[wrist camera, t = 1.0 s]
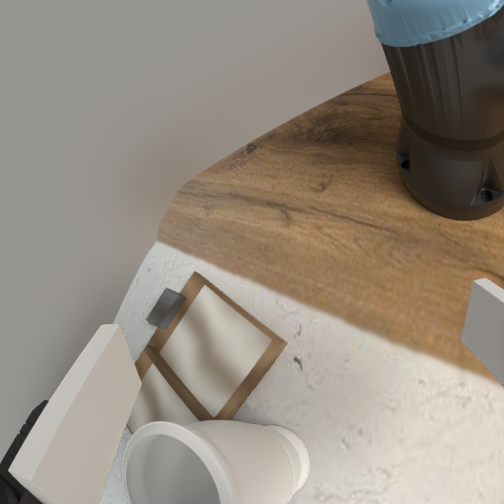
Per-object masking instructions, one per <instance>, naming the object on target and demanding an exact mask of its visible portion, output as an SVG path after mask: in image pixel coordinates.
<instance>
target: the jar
mask: <svg viewBox="0 0 504 504" xmlns="http://www.w3.org/2000/svg"><path fill="white" fill-rule="evenodd" d="M309 471H310V458H309V454H308V451H307V449H306V447H305V445H304V443H303V442H302V441H301V439H300V438H299V437H298V436H297V435H296V434H294V433H293V432H292V431H290V430H288V429H286V428H283V427H280V426H276V425H265V426H262V425H258V424H251V423H245V422H239V421H232V420H208V421H200V422H195V423H190V424H186V425H183V424H180V423H175V422H165V421H156V422H151V423H148V424H146V425H144V426H142V427H140V428H139V429H138V430H137V431H136V432H135V433H134V434H133V435H132V436H131V438H130V439H129V441H128V443H127V445H126V447H125V450H124V453H123V458H122V465H121V479H122V486H123V491H124V495H125V498H126V501H127V504H287V503H288V502H289V500H290V499H291V498H292V496H293V495H294V493H296V492H297V491H298V490H299V489H300V488H301V487H302V486H303V485H304V484H305V482H306V480H307V478H308V475H309Z"/></svg>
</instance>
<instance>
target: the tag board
mask: <svg viewBox="0 0 504 504" xmlns="http://www.w3.org/2000/svg"><path fill="white" fill-rule="evenodd" d="M146 320H147V321H148V322H149V324H151V325H155V326H158V328H157V330H156V332H155V333H154V335H153V336H152V338H151V339H150V341H149V343H148V344H147V346H146V347H145V349H144V350H143V352H142V354H141V355H140V357H139V358H138V360H137V362H136V363H134V364H135V367H136V370H137V372H138V375H139V377H140V380H141V382H142V385H141V388H140V390H139V393H138V395H137V398H136V401H135V403H134V406H133V408H132V411H131V414H130V417H129V419H128V422H127V425H126V426H127V427H128V429H129V430H130V432H131V434H132V435H133V434H134V433H135V432H136V431H137V430H138V429H139V428H140V427H142V426H144V425H146V424H148V423H151V422H156V421H165V422H175V423H180V424H183V425H186V424H190V423H195V422H200V421H208V420H230V419H231V418H232V416H233V415H234V414H235V413H236V411H237V410H238V409H239V408H240V406H241V405H242V404H243V403H244V401H245V400H246V399H247V397H248V396H249V395H250V394H251V392H252V391H253V390H254V388H255V387H256V386H257V384H258V383H259V382H260V380H261V379H262V378H263V376H264V375H265V374H266V372H267V371H268V370H269V368H270V367H271V366H272V364H273V363H274V362H275V360H276V359H277V357H278V356H279V355H280V353H281V352H282V350H283V349H284V348H285V346H286V345H287V342H285V341H284V340H283V339H281V338H280V337H279V336H277V335H276V334H275V333H273V332H272V331H271V330H270V329H268V328H267V327H266V326H264V325H263V324H262V323H261V322H259V321H258V320H257V319H255V318H254V317H253V316H252V315H250V314H249V313H248V312H247V311H245V310H244V309H243V308H242V307H240V306H239V305H238V304H236V303H235V302H234V301H233V300H231V299H230V298H229V297H228V296H227V295H225V294H224V293H223V292H222V291H220V290H219V289H218V288H217V287H215V286H214V285H213V284H212V283H211V282H209V281H208V280H207V279H206V278H204V277H203V276H202V275H201V274H199V273H197V272H196V271H195V272H194V273H193V275H192V276H191V278H190V279H189V281H188V282H187V284H186V285H185V287H184V288H183V290H182V291H181V293H180V294H179V293H177V292H175V291H173V290H171V289H168V288H166V289H165V291H164V292H163V294H162V295H161V297H160V298H159V300H158V302H157V303H156V305H155V306H154V308H153V309H152V311H151V313H150V314H149V316H148V317H147V319H146Z"/></svg>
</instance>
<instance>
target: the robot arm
mask: <svg viewBox="0 0 504 504" xmlns="http://www.w3.org/2000/svg"><path fill="white" fill-rule="evenodd" d="M367 3H368V6H369V9H370V12H371V15H372V18H373V21H374V25H375V26H374V27H375V28H374V30H375V34H376V37H377V38H378V39H379V41H380V42H381V44H382V47H383V50H384V53H385V56H386V59H387V62H388V65H389V68H390V71H391V75H392V78H393V81H394V85H395V88H396V92H397V95H398V99H399V103H400V106H401V111H402V118H401V123H400V128H399V133H398V138H397V144H396V158H397V163H398V168H399V172H400V176H401V179H402V181H403V183H404V185H405V187H406V188H407V190H408V191H409V193H410V194H411V195H412V196H413V197H414V198H415V199H416V200H417V201H418V202H419V203H420V204H422V205H423V206H424V207H426V208H427V209H429V210H431V211H433V212H435V213H437V214H439V215H442V216H445V217H448V218H452V219H458V220H475V219H480V218H484V217H487V216H490V215H492V214H494V213H496V212H497V211H499V210H500V209H501V208H502V207H504V0H367ZM460 340H461V341H462V342H463V343H464V344H465V345H466V346H467V347H468V348H469V349H470V351H471V352H472V353H473V354H474V355H475V356H476V357H477V358H478V359H479V360H480V361H481V362H482V364H483V365H484V366H485V367H486V368H487V369H488V370H489V371H490V372H491V374H492V375H493V376H494V377H495V378H496V379H497V380H498V382H499V383H500V384H501V385H502V386H503V387H504V290H503V289H502V288H500V287H499V286H497V285H496V284H494V283H493V282H491V281H490V280H488V279H487V278H483V279H479V280H474V281H473V285H472V290H471V296H470V301H469V305H468V310H467V315H466V319H465V323H464V327H463V331H462V335H461V339H460ZM141 385H142V382H141V380H140V377H139V375H138V372H137V370H136V367H135V364H134V362H133V359H132V356H131V354H130V351H129V348H128V345H127V342H126V339H125V336H124V334H123V331H122V328H121V324H103V325H101V326H100V328H99V329H98V330H97V332H96V333H95V335H94V336H93V337H92V339H91V340H90V342H89V343H88V344H87V346H86V347H85V349H84V350H83V351H82V353H81V354H80V356H79V357H78V359H77V360H76V361H75V363H74V364H73V366H72V367H71V369H70V370H69V372H68V373H67V375H66V376H65V378H64V379H63V381H62V382H61V384H60V385H59V387H58V388H57V390H56V391H55V393H54V394H53V396H52V397H51V399H50V400H49V401H47V400H44V401H43V402H42V403H41V404H40V405H39V406H37V407H36V408H35V409H34V410H33V411H32V412H31V414H30V415H29V417H28V419H27V420H26V424H24V425H23V427H22V428H21V430H20V434H18V435H17V436H16V438H15V439H14V441H13V443H12V444H11V446H10V448H9V450H8V451H7V453H6V455H5V457H4V458H3V460H2V462H1V463H0V504H100V501H101V498H102V494H103V491H104V488H105V485H106V482H107V479H108V476H109V473H110V470H111V467H112V464H113V461H114V458H115V455H116V453H117V450H118V447H119V444H120V441H121V438H122V436H123V433H124V430H125V427H126V425H127V422H128V419H129V417H130V414H131V411H132V408H133V406H134V403H135V401H136V398H137V395H138V393H139V390H140V388H141Z"/></svg>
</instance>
